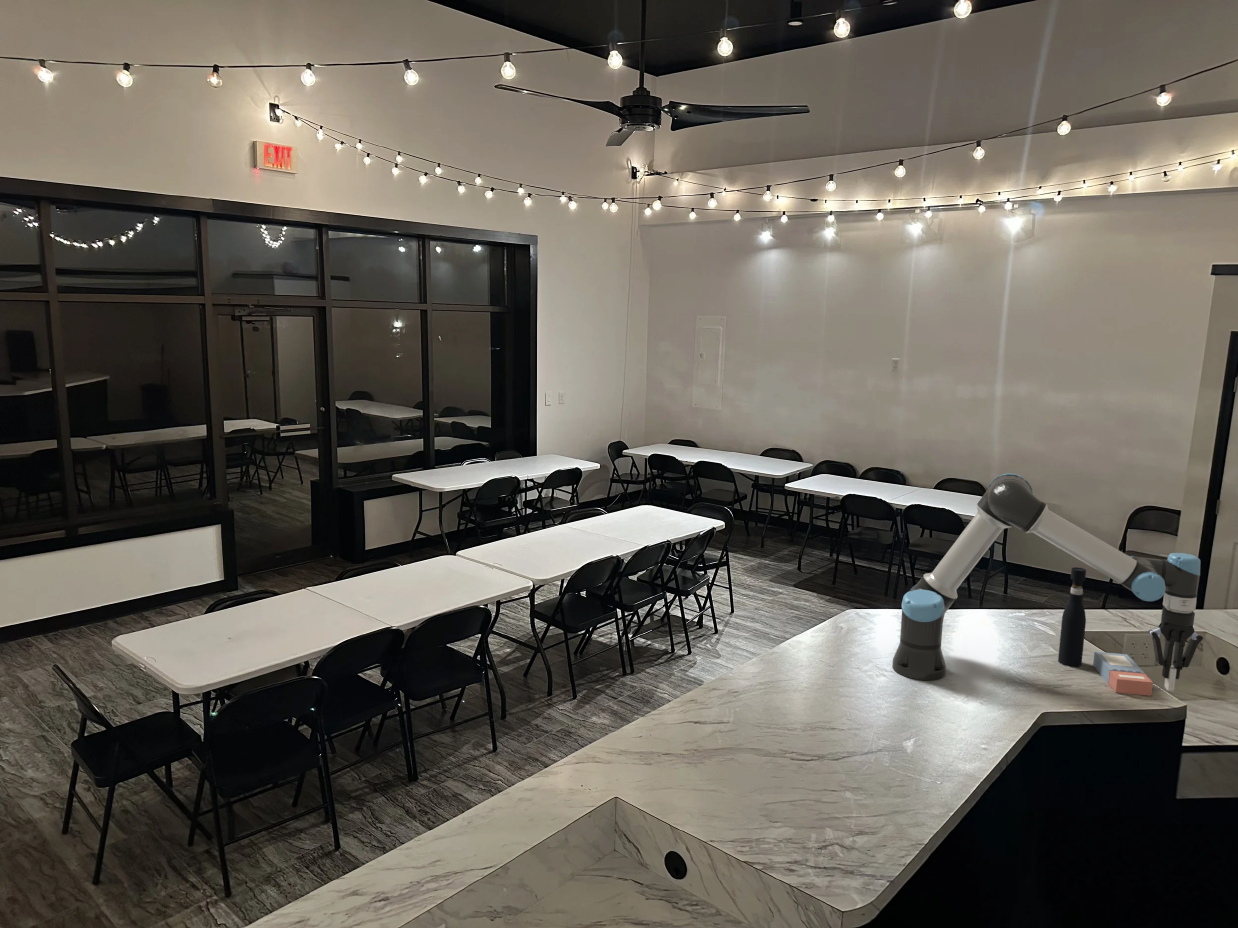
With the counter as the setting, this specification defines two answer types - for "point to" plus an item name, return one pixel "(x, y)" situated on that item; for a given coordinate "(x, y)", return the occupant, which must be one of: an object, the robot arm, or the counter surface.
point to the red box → (1130, 683)
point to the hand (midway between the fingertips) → (1169, 688)
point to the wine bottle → (1073, 623)
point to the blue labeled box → (1114, 664)
